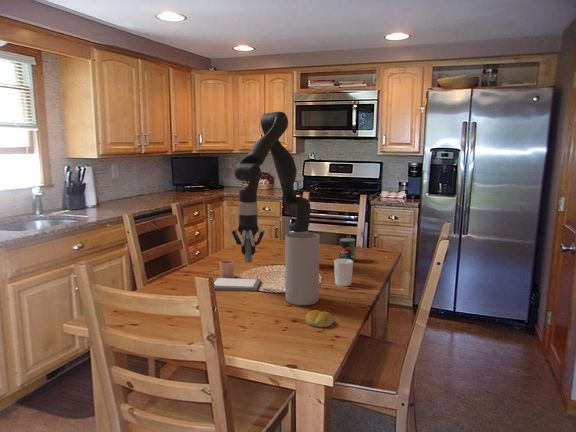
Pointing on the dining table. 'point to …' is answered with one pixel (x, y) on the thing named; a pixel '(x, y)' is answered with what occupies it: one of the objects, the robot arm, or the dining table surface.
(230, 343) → the dining table surface
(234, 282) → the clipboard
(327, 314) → the bread roll
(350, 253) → the canned tomato
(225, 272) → the pen cup
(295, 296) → the cylinder vase
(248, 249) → the marker
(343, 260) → the white cup
